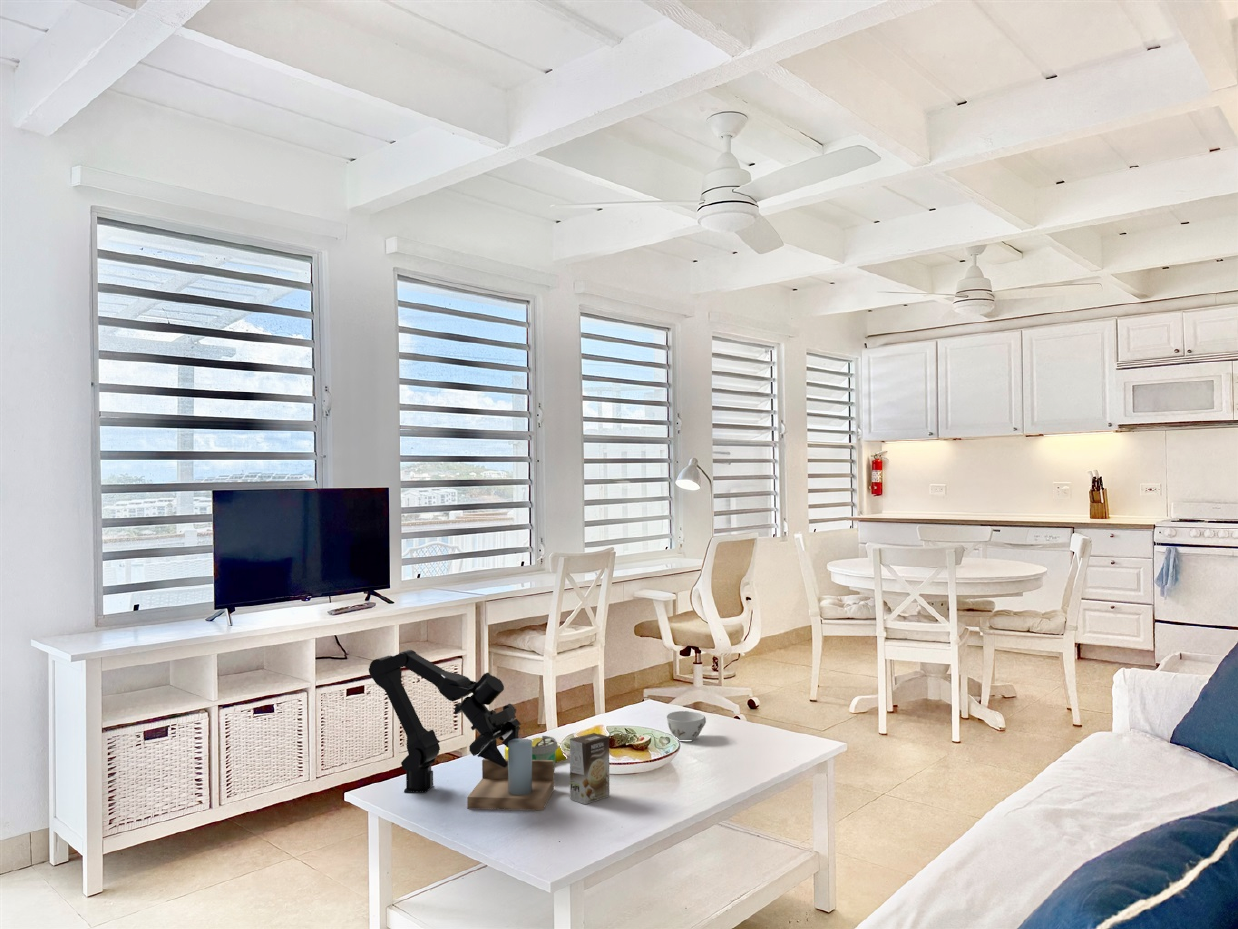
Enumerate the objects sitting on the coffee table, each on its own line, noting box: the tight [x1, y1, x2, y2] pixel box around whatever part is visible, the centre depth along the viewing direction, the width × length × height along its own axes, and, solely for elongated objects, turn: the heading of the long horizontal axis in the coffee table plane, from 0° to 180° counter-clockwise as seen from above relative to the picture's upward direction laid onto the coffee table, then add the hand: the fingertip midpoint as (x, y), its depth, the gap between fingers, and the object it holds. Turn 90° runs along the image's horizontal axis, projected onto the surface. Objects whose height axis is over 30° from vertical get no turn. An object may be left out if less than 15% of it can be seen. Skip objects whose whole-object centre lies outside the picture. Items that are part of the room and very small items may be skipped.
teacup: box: [666, 710, 707, 741], centre depth 284 cm, size 15×12×8 cm
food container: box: [532, 735, 558, 770], centre depth 248 cm, size 12×6×10 cm, turn 168°
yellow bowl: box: [504, 737, 567, 764], centre depth 265 cm, size 15×15×5 cm
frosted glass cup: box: [508, 738, 532, 796], centre depth 227 cm, size 6×6×13 cm
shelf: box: [466, 758, 555, 811], centre depth 230 cm, size 20×16×8 cm
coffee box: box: [569, 732, 610, 805], centre depth 230 cm, size 9×6×16 cm
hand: (515, 761), depth 228 cm, fingers open, 9 cm apart
